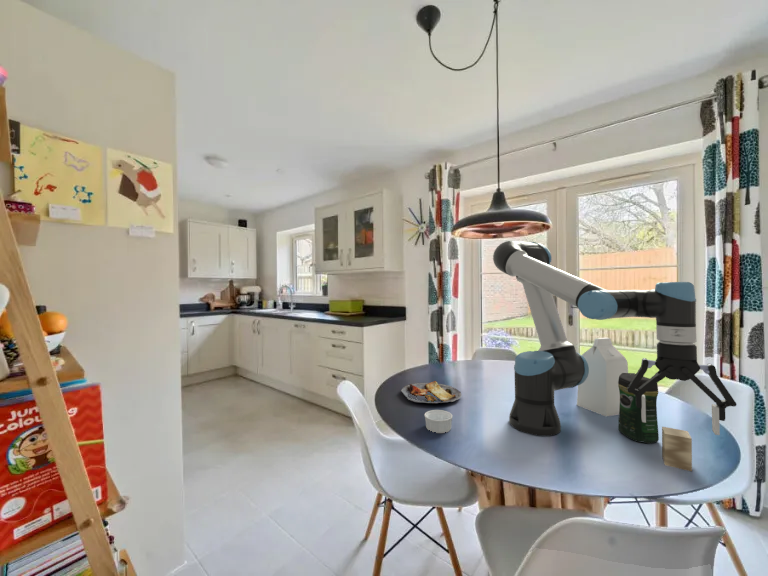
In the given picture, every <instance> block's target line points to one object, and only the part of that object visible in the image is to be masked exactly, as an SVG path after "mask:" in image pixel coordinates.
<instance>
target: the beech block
mask: <svg viewBox="0 0 768 576" xmlns="http://www.w3.org/2000/svg"><path fill="white" fill-rule="evenodd" d="M692 441H693V440H692V436H691V434H690V433H689V431H688V430H683V429H678V428H672V427H668V426H667V427H666V426H661V446H662V447H661V457H662V460H663V464H664V466H666V467H672V468H675V469H680V470H684V471H687V472H693V442H692Z"/></svg>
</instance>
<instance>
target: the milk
mask: <svg viewBox="0 0 768 576" xmlns="http://www.w3.org/2000/svg"><path fill="white" fill-rule="evenodd" d="M580 355H581V356H583V357H584V358H585V359H586V361H587V363H588V367H589V373H588V377H587V378H586V380H585V381H584V382H583V383H582V384H580V385H577V397H576V406H577V407H579V408H582V407H583V409H586V410H588V411H590V410H591V412H593V413H595V412H596V413H595V414H598V415H600V414H601V416H604V417H607V416H608V417H612V416H616V415H617V416H619V408H620V392H619V387H618V380H619V376H620V375H621V374H622V373H629V365H628V359H627V358H626V357H625V355H623V354H622V353H621V352H620V351H619V350H618V349H617V348H616V347H615V346H614V345H613V342H612V339H611V338H610V337H598V338H596V337H595V338H594V341H593V344H592V346H591V347H590V348H589V349H587V350H586V351H584V353H582V354H580Z"/></svg>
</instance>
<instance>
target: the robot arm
mask: <svg viewBox="0 0 768 576" xmlns="http://www.w3.org/2000/svg"><path fill="white" fill-rule="evenodd" d="M492 259H493V264H494V266H495V267H496V268H497V270H499V271H500V272H503V273H504V274H506V275H507V276H510V277H515V279H516V281H517V282H519V283H521V284H522V287H523V290H524V293H525V297H526V300H527V305H528V307H529V311H530V313H531V317H532V320H533V324H534V327H535V331H536V333H537V337H538V340H539V344H540V347H539V349H538V350H534V351H533V350H528V351H523V352H520V353H518V354H517V355H516V356H515V359H514V367H513V368H514V369H513V370H514V402H513V403H512V407H511V409H510V411H509V416H508V417H509V419H508V420H509V424H510V426H511V427H512V428H514V429H515V430H518V431H520V432H521V433H522V432H523V433H525V434H529V435H534V436H542V437H543V436H544V437H545V436H546V437H547V436H549V437H550V436H555V435H558V434H560V432H561V431H562V430H561V429H562V427H561V426H562V424H561V420H560V417H559V414H558V411H557V409H556V406H555V392H556V391H560V390H564V389H570V388H572V389H573V388H575V387H578V385H580V384H582V383H583V382H584V381H585V380H586V378H587V377H588V373H589V367H588V363H587V361H586V359H585V358H584V357H583V356H581V355H582V354H581V353H579V352H578V351H577V350H576V347H575V345H574V344H573V343H571V342H569V341H568V339H567V336H566V333H565V330H564V326H563V324H562V320H561V317H560V314H559V310H558V309H557V305H556V302H555V299H554V297H557V298H559V299H561V300H563V301H565V302H567V303H568V304H570V305H572V306H574V307H575V308H578V310H579V312H580V313H581V315H582V316H583V317H584V318H585V317H586V318H587V319H589V320H596V321H597V320H598V321H601V320H602V321H603V320H608V319H618V318H619V319H621V318H648V319H649V318H650V319H651V318H652V319H655V320H656V321H655V323H656V324H655V325H656V328H655V329H656V332H655V333H656V340H657V341H658V342H657V343H656V359H655V360H651V359H647V358H645V357H642V359H641V365H640V367H639V369H638V370H637V372H636V373H635V374H636V375H635V376H634V378H633V379H632V381H631V382H630V384H629V385H628V387H627V390H628V392H630V393H633V394H635V395H636V406H637V408H641V419H642V422H645V423H646V403H645V395H643V394H644V393H645V392H647V391H648V390H649V389H650V388H652V387H653V386H654V385H655V384H656V383H657V384H658V383H659V382H660V381H663V379H665V378H666V379H669V380H679V381H684V382H686V381H692V382H693V383H694V384H696V386H697V387H698V388H699V389H701V391H702V392H703V393H705V394H706V395H707V396H708V398H710V399H711V401H713V403H715V404H713V403H711V430H712V432H713V434H714V435H716V436H720V434H721V433H720V432H721V430H720V421H721V422H725V421H726V409H727V408H728V407H737V402H736V401H735V399H734V398H733V396H732V395H731V393H730V392H729V391H728V389H727V387H726V386H725V384H724V383H723V382H722V380H721V378H720V377H719V376H718V374H717V369H716V366H715V365H714V364H712V363H707V364H699V363H698V355H697V354H698V352H697V351H698V349H697V348H698V346H697V345H696V344H695V343H696V342H697V320H696V319H697V318H696V317H697V316H696V314H697V311H696V309H697V308H696V307H697V305H696V304H697V303H696V302H697V298H696V290H695V286H694V283H692V282H689V281H668V282H667V281H665V282H663V281H662V282H657V283H656V284H655V287H654V289H646V290H645V289H642V290H641V289H617V290H616V289H615V290H609V289H605V288H603V287H600V286H598V285H596V284H593V283H591V282H589V281H587V280H585V279H583V278H580V277H578V276H575V275H572V274H570V273H568V272H566V271H564V270H562V269H559V268H556V267H554V266H553V265H551V263H552V254H551V251H550V249H549V248H548V247H547V246H546V245H545V244H542V243H541V242H536V241H519V240H518V241H517V240H508V241H507V240H506V241H504V242H502V243H500V244H499V245H498V246H497V247H496V248H495V249H494V252H493V255H492ZM653 366H655V367H656V368H657V369H658V371H657V372H655V373H654V375H652V376H651V377H649V378H650V379H649V380H648V381H646V382H645V383H644V384H643V385H642V386H640V387H639V388H638V389H635V388H636V386H637V385H638V383H639V382H640V380H641V379H642V377H645V374H646V373H647V371H648V369H651V368H652V367H653ZM700 370H701V371H703V372H704V373H705V374H706V375H708V377H709V378H710V379H711V381H712V382H713V384H714V385H715V386H716V388H717V390H718V392H719V394H721V395H722V397H723V399H721V398H720V397H718V396H717V395H716V394H715V393H714V391H712V390H711V389H709V387H708V386H706V385H705V384H704V383H703V381H702V380H701V379H700V378H698V377H697V376H696V374H697V373H698V372H699V371H700Z"/></svg>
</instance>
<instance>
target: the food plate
mask: <svg viewBox="0 0 768 576" xmlns="http://www.w3.org/2000/svg"><path fill="white" fill-rule="evenodd" d="M400 391H401V393H402V394H403V396H404V397H405V398H406V399H407V400H408V401H411V402H414V403H424V404H439V403H440V404H442V403H444V404H445V403H449V402H451V403H452V402H455V401H457V400H459V399H461V398H462V393H461V391H459V390H458V389H457V388H455V387H454V386H452V385H448V384H444V383H439V382H437V381H436V380H434V381H431V382H414V383H409V384H407V385H405V386H403V387H402V388H401V389H400ZM427 392H430V393H432V394H433V395H434V396H436V397H437V398H439V399H440V400H441V401H443V402H441V401H438V400H437V399H436V398H435V397H433V396H431V395H426V394H428V393H427ZM408 394H412V395H414V396H416V397H417V396H425V398H426V399H427V401H431V402H427V401H424V400H422V401H420V400H418V399H417V400H415V399H413V398H412V397H411V398H412V399H411V398H409V397H408ZM409 396H410V395H409ZM434 401H437V402H434Z"/></svg>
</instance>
